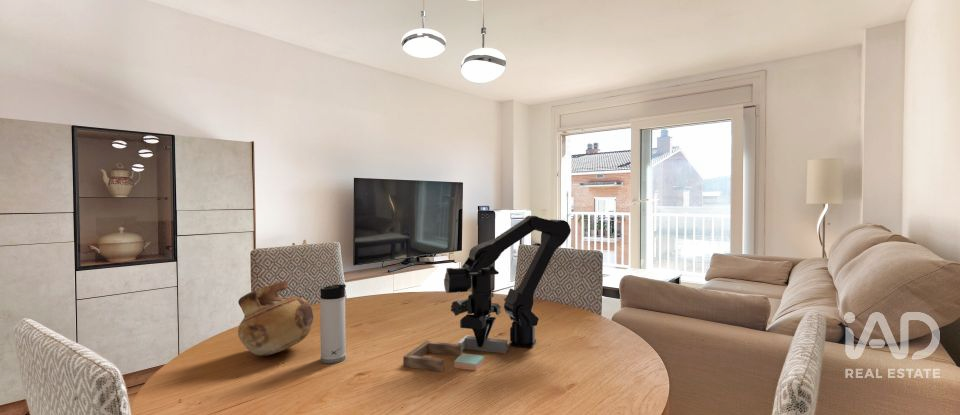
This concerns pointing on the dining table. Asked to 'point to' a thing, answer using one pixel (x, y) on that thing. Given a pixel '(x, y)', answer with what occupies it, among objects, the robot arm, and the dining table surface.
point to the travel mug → (332, 323)
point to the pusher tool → (484, 344)
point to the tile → (469, 361)
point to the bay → (418, 361)
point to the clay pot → (273, 320)
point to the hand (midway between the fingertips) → (481, 345)
